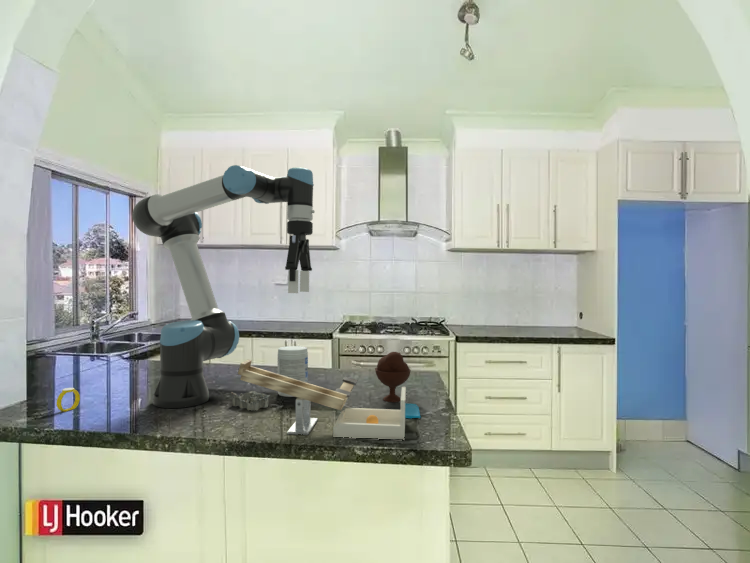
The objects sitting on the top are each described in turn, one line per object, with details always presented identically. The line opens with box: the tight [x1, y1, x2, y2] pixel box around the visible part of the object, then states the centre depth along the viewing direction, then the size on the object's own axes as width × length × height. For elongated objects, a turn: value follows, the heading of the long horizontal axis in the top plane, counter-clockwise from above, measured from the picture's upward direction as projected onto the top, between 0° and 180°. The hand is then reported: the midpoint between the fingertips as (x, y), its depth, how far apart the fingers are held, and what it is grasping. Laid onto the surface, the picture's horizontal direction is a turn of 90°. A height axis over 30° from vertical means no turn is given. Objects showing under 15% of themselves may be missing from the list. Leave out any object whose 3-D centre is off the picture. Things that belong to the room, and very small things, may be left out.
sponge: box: [405, 402, 422, 419], centre depth 127 cm, size 2×12×6 cm
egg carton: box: [230, 390, 271, 411], centre depth 131 cm, size 11×8×4 cm
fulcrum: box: [286, 397, 319, 436], centre depth 113 cm, size 5×11×8 cm, turn 175°
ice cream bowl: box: [374, 351, 411, 403], centre depth 139 cm, size 11×11×15 cm
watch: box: [56, 387, 81, 413], centre depth 125 cm, size 6×3×6 cm, turn 165°
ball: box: [366, 415, 378, 424], centre depth 112 cm, size 3×3×3 cm
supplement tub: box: [277, 345, 309, 398], centre depth 145 cm, size 10×10×15 cm
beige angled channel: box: [237, 359, 358, 411], centre depth 124 cm, size 28×26×4 cm
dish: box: [332, 386, 407, 441], centre depth 112 cm, size 17×13×9 cm
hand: (299, 292), depth 135 cm, fingers open, 13 cm apart
